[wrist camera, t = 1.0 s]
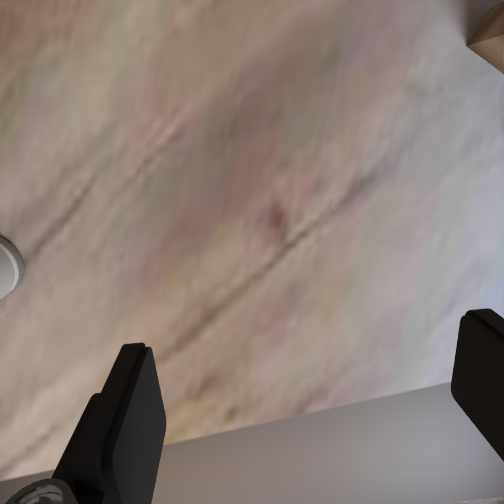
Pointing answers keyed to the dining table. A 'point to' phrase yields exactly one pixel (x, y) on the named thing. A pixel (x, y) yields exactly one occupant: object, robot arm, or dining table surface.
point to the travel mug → (9, 267)
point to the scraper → (490, 38)
